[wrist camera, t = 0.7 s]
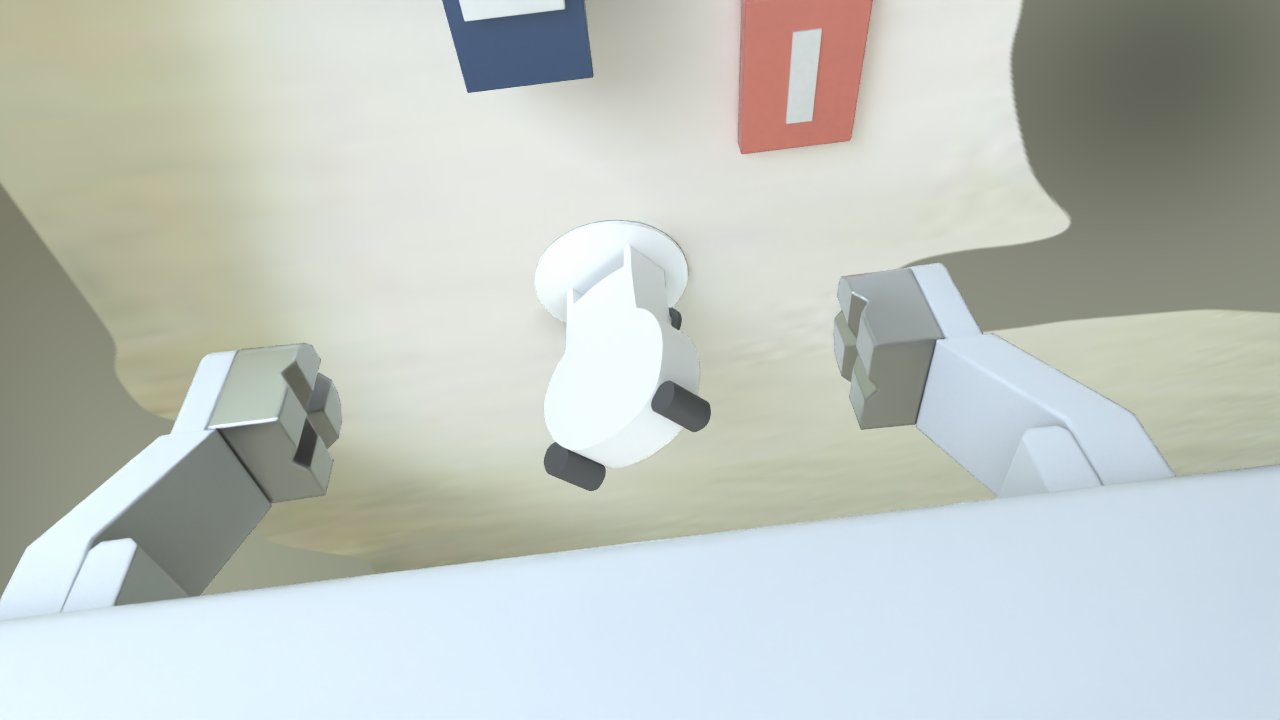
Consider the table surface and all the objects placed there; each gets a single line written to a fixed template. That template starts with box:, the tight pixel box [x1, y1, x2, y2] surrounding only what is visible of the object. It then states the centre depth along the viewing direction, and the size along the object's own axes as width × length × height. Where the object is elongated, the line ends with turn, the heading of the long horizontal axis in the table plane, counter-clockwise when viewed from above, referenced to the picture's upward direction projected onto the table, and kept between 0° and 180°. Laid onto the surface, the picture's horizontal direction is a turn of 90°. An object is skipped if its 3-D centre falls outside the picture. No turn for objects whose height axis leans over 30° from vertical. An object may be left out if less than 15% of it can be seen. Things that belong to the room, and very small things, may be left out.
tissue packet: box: [738, 0, 873, 154], centre depth 48 cm, size 10×7×1 cm
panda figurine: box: [535, 221, 711, 491], centre depth 56 cm, size 12×11×15 cm
